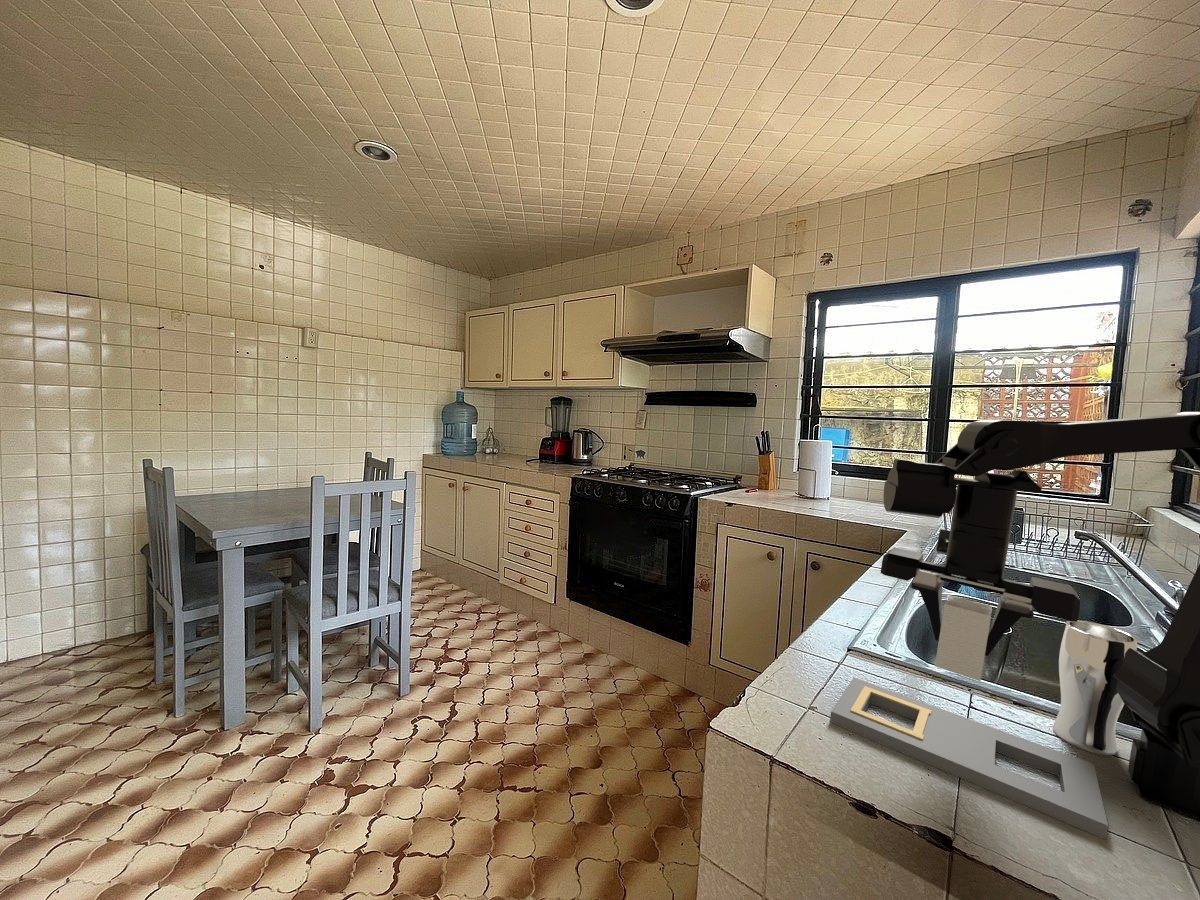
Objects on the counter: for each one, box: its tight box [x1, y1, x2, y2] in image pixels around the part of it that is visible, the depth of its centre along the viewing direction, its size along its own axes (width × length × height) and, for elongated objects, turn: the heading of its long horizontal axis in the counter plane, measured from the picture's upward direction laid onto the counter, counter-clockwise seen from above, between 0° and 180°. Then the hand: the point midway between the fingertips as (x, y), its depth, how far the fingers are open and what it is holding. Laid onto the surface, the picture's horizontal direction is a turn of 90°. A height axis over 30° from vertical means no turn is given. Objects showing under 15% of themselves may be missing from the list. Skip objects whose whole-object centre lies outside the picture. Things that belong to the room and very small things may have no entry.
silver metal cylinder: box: [1052, 619, 1138, 756], centre depth 65 cm, size 7×7×15 cm
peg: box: [934, 594, 993, 682], centre depth 61 cm, size 4×4×8 cm
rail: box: [829, 676, 1109, 840], centre depth 62 cm, size 26×12×2 cm, turn 50°
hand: (961, 647), depth 61 cm, fingers closed on peg, 4 cm apart
